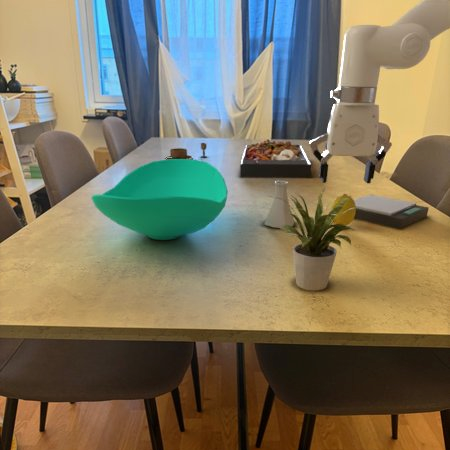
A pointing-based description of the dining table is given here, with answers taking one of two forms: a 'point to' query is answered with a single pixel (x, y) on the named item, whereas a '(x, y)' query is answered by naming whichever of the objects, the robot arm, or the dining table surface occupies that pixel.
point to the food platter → (275, 160)
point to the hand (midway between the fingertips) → (345, 181)
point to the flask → (280, 208)
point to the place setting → (184, 153)
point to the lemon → (348, 215)
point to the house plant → (316, 244)
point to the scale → (388, 211)
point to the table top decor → (166, 198)
